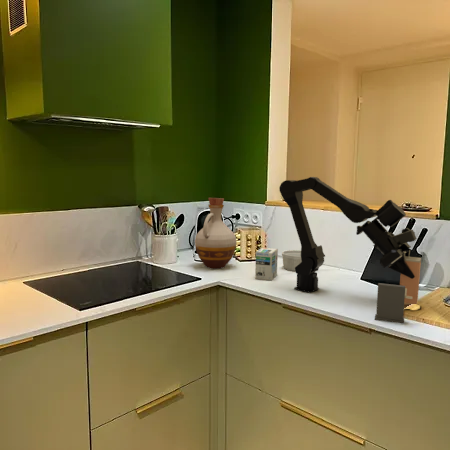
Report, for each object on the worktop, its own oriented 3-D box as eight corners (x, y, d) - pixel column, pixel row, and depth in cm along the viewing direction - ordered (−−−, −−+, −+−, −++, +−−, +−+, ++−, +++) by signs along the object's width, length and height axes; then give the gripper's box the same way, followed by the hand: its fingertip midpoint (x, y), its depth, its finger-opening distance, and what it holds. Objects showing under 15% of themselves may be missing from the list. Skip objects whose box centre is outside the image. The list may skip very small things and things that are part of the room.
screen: (374, 319, 117) (376, 284, 116) (375, 316, 120) (377, 282, 119) (404, 323, 114) (406, 288, 113) (404, 320, 117) (406, 285, 116)
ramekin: (311, 273, 171) (311, 256, 170) (279, 271, 175) (279, 254, 174) (313, 266, 184) (314, 251, 183) (283, 264, 187) (284, 249, 187)
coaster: (392, 306, 129) (393, 305, 128) (400, 301, 134) (400, 300, 134) (416, 312, 124) (416, 310, 124) (424, 306, 129) (424, 305, 129)
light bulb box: (271, 281, 158) (272, 253, 157) (254, 279, 160) (255, 251, 159) (277, 274, 168) (278, 248, 167) (261, 273, 170) (261, 247, 169)
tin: (398, 301, 128) (401, 259, 126) (400, 297, 132) (403, 256, 130) (416, 304, 125) (420, 261, 123) (417, 300, 130) (421, 257, 128)
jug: (223, 274, 167) (224, 199, 164) (185, 269, 175) (185, 197, 171) (242, 265, 185) (243, 197, 181) (206, 261, 192) (207, 195, 189)
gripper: (394, 222, 120) (433, 265, 115) (405, 217, 136) (440, 255, 131) (364, 246, 125) (401, 288, 121) (378, 239, 141) (411, 275, 136)
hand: (415, 276), depth 127 cm, fingers closed on tin, 5 cm apart
